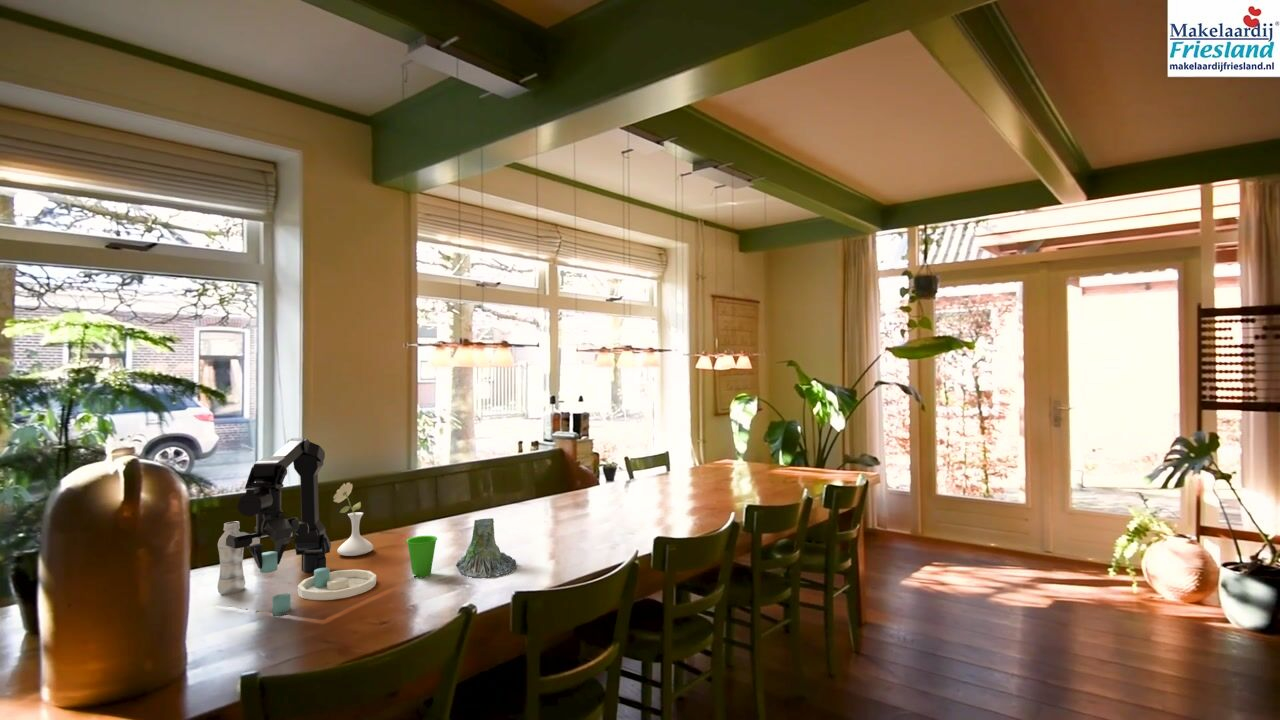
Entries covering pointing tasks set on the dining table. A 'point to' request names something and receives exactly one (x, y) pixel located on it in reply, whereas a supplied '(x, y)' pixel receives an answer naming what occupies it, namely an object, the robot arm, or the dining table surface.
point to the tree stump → (485, 554)
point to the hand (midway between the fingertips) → (268, 566)
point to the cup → (421, 554)
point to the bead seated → (321, 577)
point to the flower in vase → (356, 541)
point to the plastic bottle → (230, 563)
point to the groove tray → (353, 589)
